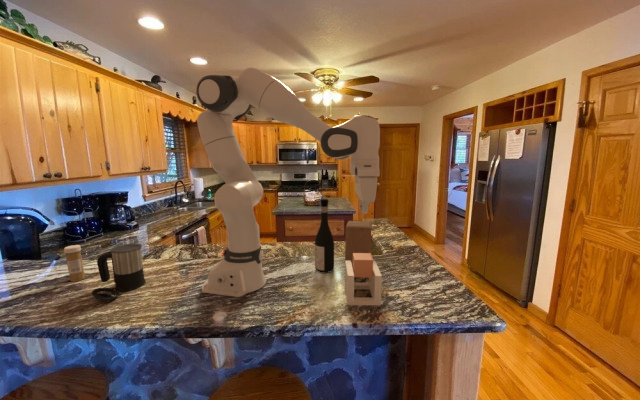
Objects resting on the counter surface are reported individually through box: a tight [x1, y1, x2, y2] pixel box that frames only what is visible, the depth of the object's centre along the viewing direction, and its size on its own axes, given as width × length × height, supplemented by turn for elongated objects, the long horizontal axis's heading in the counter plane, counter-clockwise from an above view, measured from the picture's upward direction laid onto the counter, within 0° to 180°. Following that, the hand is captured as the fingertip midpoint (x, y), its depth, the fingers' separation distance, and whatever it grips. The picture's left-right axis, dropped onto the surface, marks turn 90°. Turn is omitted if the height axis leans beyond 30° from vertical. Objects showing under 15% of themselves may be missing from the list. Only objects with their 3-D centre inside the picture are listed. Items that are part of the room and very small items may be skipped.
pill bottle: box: [63, 244, 86, 283], centre depth 100 cm, size 5×5×13 cm
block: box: [352, 253, 374, 278], centre depth 87 cm, size 6×6×6 cm
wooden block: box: [344, 220, 372, 266], centre depth 107 cm, size 10×10×20 cm
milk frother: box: [91, 243, 147, 302], centre depth 91 cm, size 14×16×15 cm
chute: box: [344, 260, 383, 306], centre depth 88 cm, size 11×12×10 cm
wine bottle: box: [314, 198, 335, 274], centre depth 106 cm, size 8×8×30 cm
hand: (363, 212), depth 84 cm, fingers open, 4 cm apart
